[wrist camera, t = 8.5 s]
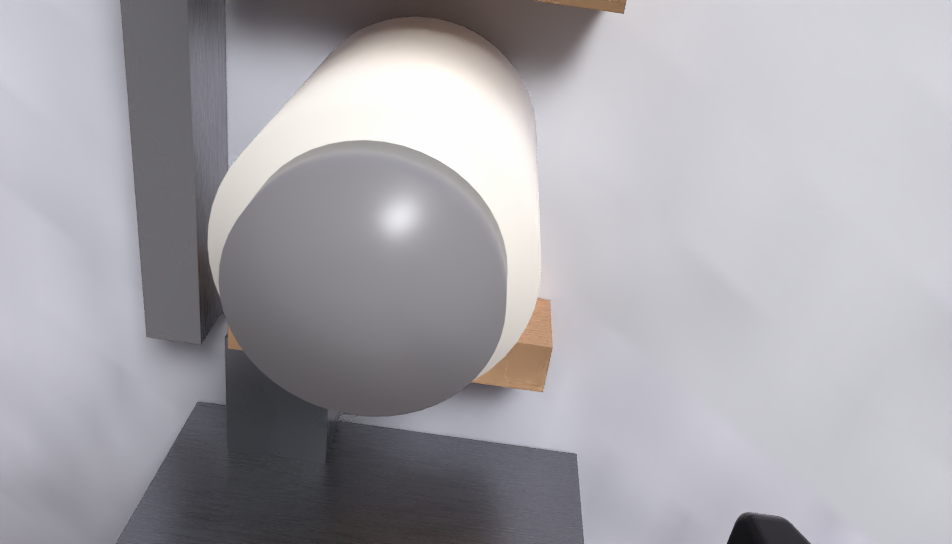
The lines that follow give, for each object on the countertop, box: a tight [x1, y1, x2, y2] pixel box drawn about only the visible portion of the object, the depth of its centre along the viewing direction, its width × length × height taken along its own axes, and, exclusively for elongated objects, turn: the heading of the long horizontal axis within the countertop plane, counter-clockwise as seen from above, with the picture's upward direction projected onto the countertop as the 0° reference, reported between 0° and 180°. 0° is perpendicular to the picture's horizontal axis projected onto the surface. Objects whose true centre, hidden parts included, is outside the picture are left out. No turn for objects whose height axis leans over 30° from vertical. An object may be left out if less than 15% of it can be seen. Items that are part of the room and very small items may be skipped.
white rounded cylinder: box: [208, 16, 541, 416], centre depth 14 cm, size 5×5×7 cm
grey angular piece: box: [116, 0, 626, 544], centre depth 17 cm, size 19×12×6 cm, turn 173°
